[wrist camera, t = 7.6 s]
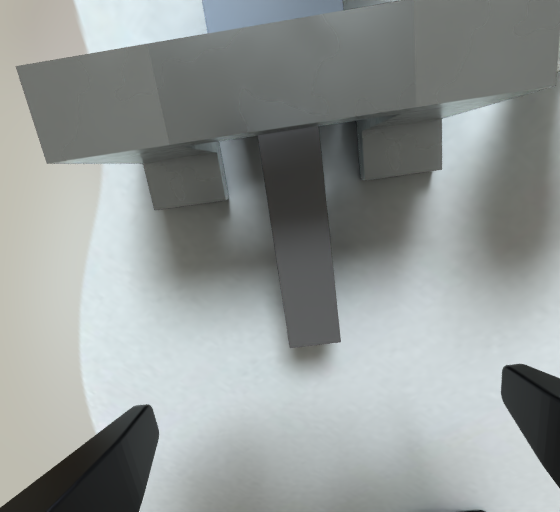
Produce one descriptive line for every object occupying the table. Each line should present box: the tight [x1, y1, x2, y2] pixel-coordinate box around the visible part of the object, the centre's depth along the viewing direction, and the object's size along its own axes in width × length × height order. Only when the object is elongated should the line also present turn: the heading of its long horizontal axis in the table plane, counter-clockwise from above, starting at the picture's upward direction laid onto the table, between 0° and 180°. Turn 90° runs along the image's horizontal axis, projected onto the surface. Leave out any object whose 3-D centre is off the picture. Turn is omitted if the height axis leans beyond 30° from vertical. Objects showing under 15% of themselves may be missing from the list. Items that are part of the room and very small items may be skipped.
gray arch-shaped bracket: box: [16, 0, 560, 210], centre depth 12 cm, size 7×14×8 cm, turn 98°
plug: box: [202, 0, 343, 348], centre depth 14 cm, size 16×4×5 cm, turn 8°
